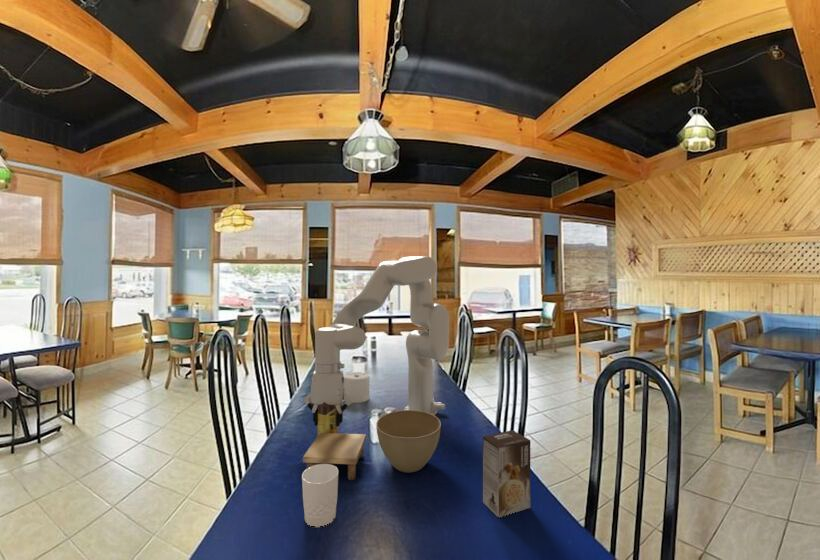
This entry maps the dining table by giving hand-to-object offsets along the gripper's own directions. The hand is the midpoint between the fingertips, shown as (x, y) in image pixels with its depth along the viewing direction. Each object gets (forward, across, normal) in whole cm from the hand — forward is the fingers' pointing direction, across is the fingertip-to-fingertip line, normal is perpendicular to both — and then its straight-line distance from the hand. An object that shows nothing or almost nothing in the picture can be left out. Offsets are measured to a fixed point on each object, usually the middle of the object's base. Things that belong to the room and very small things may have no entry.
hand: (327, 423), depth 115 cm
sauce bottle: (+7, 0, 0) cm, 7 cm away
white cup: (+7, -8, +33) cm, 35 cm away
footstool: (+7, -6, +12) cm, 15 cm away
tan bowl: (+7, -26, +10) cm, 29 cm away
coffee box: (+7, -50, +26) cm, 57 cm away
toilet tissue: (+7, 0, -40) cm, 41 cm away
